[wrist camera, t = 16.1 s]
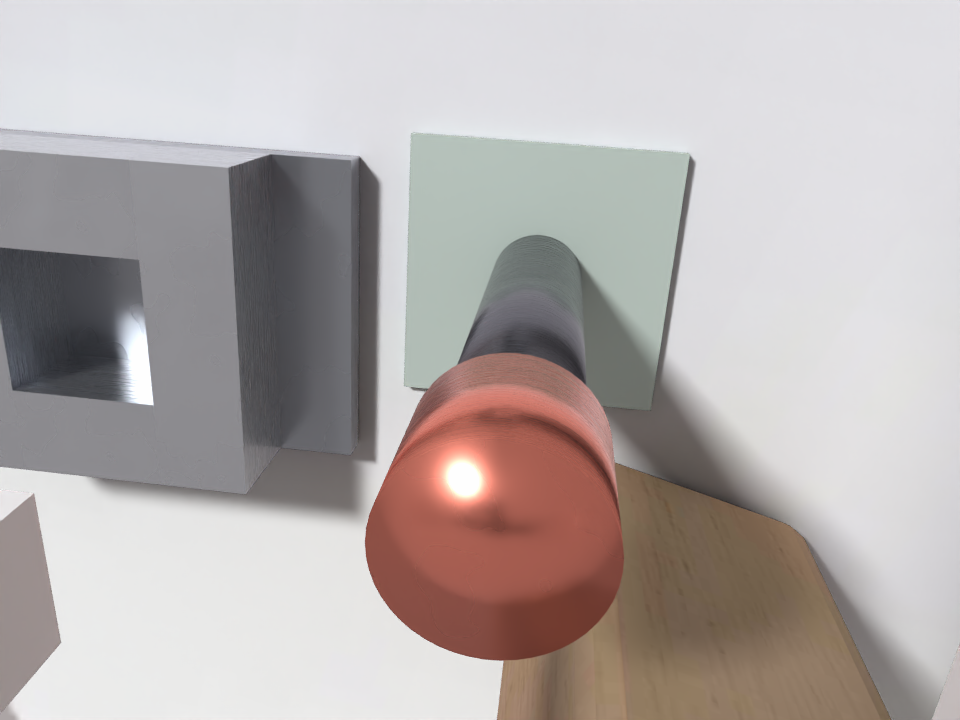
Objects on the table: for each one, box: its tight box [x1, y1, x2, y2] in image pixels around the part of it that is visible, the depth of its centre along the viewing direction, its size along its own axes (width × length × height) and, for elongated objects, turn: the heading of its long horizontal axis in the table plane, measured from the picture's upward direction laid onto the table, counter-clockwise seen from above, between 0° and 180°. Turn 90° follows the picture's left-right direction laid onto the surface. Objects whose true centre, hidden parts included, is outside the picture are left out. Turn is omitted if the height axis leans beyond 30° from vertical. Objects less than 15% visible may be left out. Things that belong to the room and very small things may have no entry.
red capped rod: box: [365, 235, 624, 661], centre depth 22 cm, size 4×4×18 cm
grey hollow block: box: [0, 129, 360, 494], centre depth 30 cm, size 12×15×5 cm
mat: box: [404, 133, 690, 411], centre depth 30 cm, size 10×10×1 cm
